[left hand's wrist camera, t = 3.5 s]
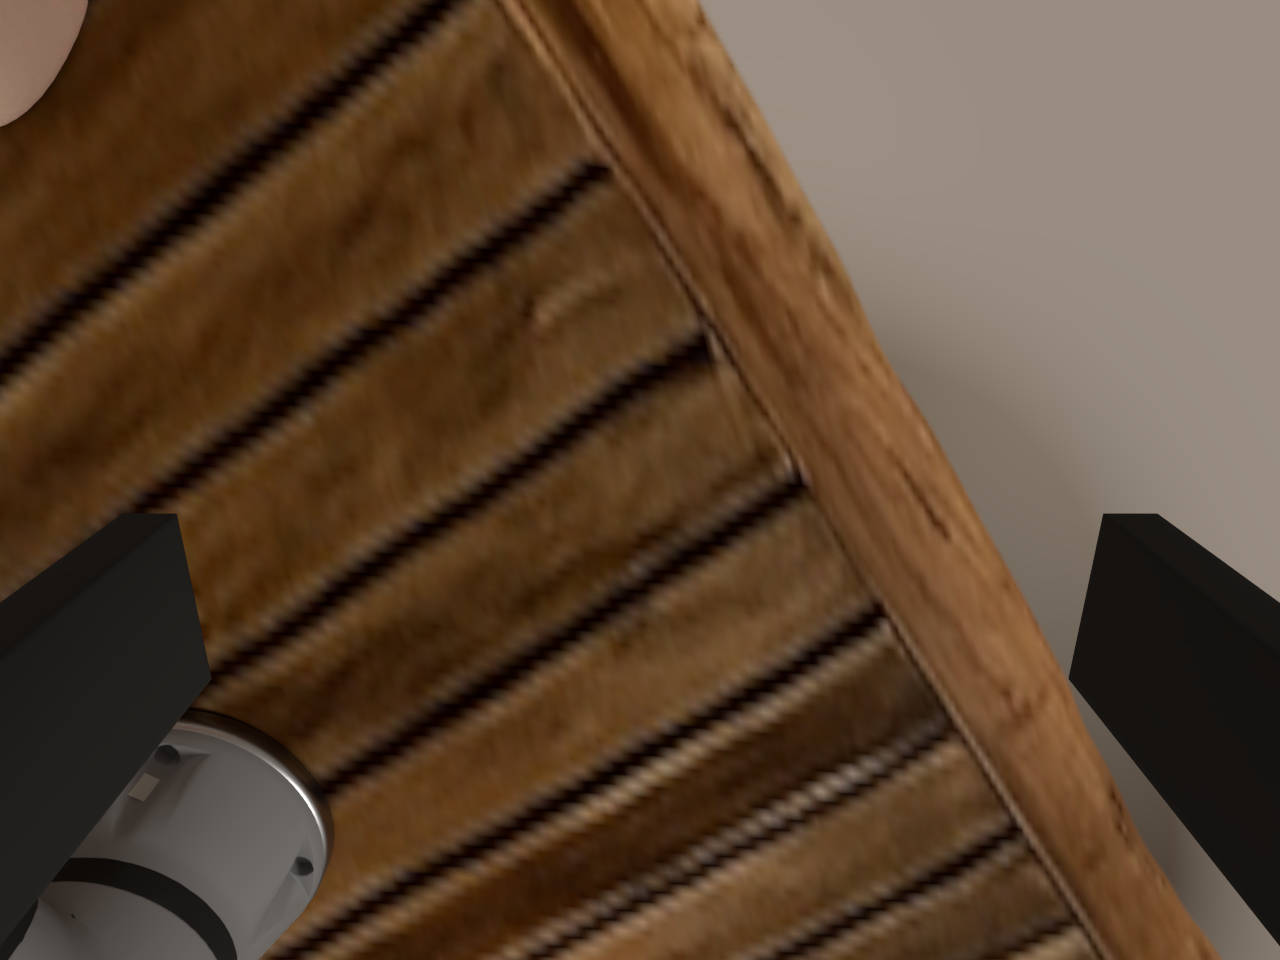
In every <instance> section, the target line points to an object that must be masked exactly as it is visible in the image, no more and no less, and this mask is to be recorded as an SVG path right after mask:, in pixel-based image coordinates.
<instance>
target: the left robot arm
mask: <svg viewBox="0 0 1280 960" xmlns="http://www.w3.org/2000/svg"><path fill="white" fill-rule="evenodd" d="M210 680H211V674H210V669H209V665H208V660H207V655H206V650H205V646H204V641H203V636H202V631H201V627H200V622H199V617H198V612H197V608H196V603H195V598H194V593H193V589H192V584H191V579H190V574H189V570H188V565H187V560H186V555H185V551H184V546H183V541H182V536H181V532H180V527H179V522H178V517H177V514H121V515H120V516H119V517H117V518H116V519H115V520H113V521H112V522H111V523H109V524H108V525H106V526H105V527H104V528H102V529H101V530H100V531H98V532H97V533H95V534H94V535H93V536H91V537H90V538H89V539H87V540H86V541H84V542H83V543H82V544H80V545H79V546H78V547H76V548H75V549H73V550H72V551H71V552H69V553H68V554H67V555H65V556H64V557H62V558H61V559H60V560H58V561H57V562H56V563H54V564H53V565H52V566H50V567H49V568H47V569H46V570H45V571H43V572H42V573H41V574H39V575H38V576H36V577H35V578H34V579H32V580H31V581H30V582H28V583H27V584H25V585H24V586H23V587H21V588H20V589H19V590H17V591H16V592H14V593H13V594H12V595H10V596H9V597H8V598H6V599H5V600H3V601H2V602H1V603H0V960H258V959H259V958H260V957H261V956H262V955H263V954H264V953H265V952H266V951H267V950H268V949H269V948H270V947H271V946H272V945H273V943H274V942H275V941H276V940H277V939H278V938H279V937H280V936H281V935H282V934H283V933H284V932H285V931H286V930H287V929H288V927H289V926H290V925H291V924H292V923H293V922H294V921H295V920H296V919H297V918H298V917H299V916H300V914H301V913H302V912H303V911H304V909H305V908H306V906H307V905H308V904H309V903H310V901H311V900H312V898H313V897H314V895H315V894H316V892H317V889H318V887H319V885H320V883H321V881H322V878H323V876H324V874H325V871H326V869H327V867H328V864H329V861H330V858H331V855H332V851H333V845H334V826H333V820H332V815H331V811H330V808H329V805H328V802H327V800H326V798H325V796H324V793H323V792H322V790H321V788H320V786H319V785H318V783H317V781H316V780H315V779H314V777H313V776H312V775H311V773H310V772H309V771H308V770H307V769H306V767H305V766H304V765H303V764H302V763H301V762H300V761H299V760H298V759H297V758H296V757H295V756H294V755H293V754H292V753H290V752H289V751H288V750H287V749H285V748H284V747H283V746H282V745H280V744H279V743H277V742H276V741H274V740H273V739H272V738H270V737H268V736H267V735H265V734H263V733H261V732H260V731H258V730H256V729H254V728H251V727H249V726H247V725H245V724H243V723H240V722H237V721H235V720H232V719H229V718H226V717H222V716H219V715H215V714H211V713H206V712H200V711H193V710H187V709H188V708H189V707H190V705H191V704H192V703H193V701H194V700H195V699H196V698H197V696H198V695H199V694H200V693H201V691H202V690H203V689H204V688H205V686H206V685H207V684H208V682H209V681H210ZM1069 680H1070V681H1071V682H1072V684H1073V685H1074V686H1075V688H1076V689H1077V690H1078V691H1079V693H1080V694H1081V695H1082V696H1083V698H1084V699H1085V700H1086V701H1087V703H1088V704H1089V705H1090V706H1091V708H1092V709H1093V710H1094V712H1095V713H1096V714H1097V715H1098V717H1099V718H1100V719H1101V720H1102V722H1103V723H1104V724H1105V726H1106V727H1107V728H1108V729H1109V731H1110V732H1111V733H1112V734H1113V736H1114V737H1115V738H1116V739H1117V741H1118V742H1119V743H1120V744H1121V746H1122V747H1123V748H1124V750H1125V751H1126V752H1127V753H1128V755H1129V756H1130V757H1131V758H1132V760H1133V761H1134V762H1135V763H1136V765H1137V766H1138V767H1139V768H1140V770H1141V771H1142V772H1143V773H1144V775H1145V776H1146V777H1147V779H1148V780H1149V781H1150V782H1151V784H1152V785H1153V786H1154V787H1155V789H1156V790H1157V791H1158V793H1159V794H1160V795H1161V796H1162V798H1163V799H1164V800H1165V801H1166V803H1167V804H1168V805H1169V806H1170V808H1171V809H1172V810H1173V812H1174V813H1175V814H1176V815H1177V817H1178V818H1179V819H1180V820H1181V822H1182V823H1183V824H1184V825H1185V827H1186V828H1187V829H1188V830H1189V832H1190V833H1191V834H1192V836H1193V837H1194V838H1195V839H1196V841H1197V842H1198V843H1199V844H1200V846H1201V847H1202V848H1203V849H1204V851H1205V852H1206V853H1207V854H1208V856H1209V857H1210V858H1211V860H1212V861H1213V862H1214V863H1215V865H1216V866H1217V867H1218V868H1219V870H1220V871H1221V872H1222V873H1223V875H1224V876H1225V877H1226V879H1227V880H1228V881H1229V882H1230V884H1231V885H1232V886H1233V887H1234V889H1235V890H1236V891H1237V892H1238V894H1239V895H1240V896H1241V897H1242V899H1243V900H1244V901H1245V903H1246V904H1247V905H1248V906H1249V908H1250V909H1251V910H1252V911H1253V913H1254V914H1255V915H1256V917H1257V918H1258V919H1259V920H1260V922H1261V923H1262V924H1263V925H1264V927H1265V928H1266V929H1267V930H1268V932H1269V933H1270V934H1271V935H1272V937H1273V938H1274V939H1275V941H1276V942H1277V943H1278V944H1279V946H1280V603H1279V602H1278V601H1276V600H1275V599H1274V598H1272V597H1271V596H1270V595H1268V594H1267V593H1266V592H1264V591H1263V590H1261V589H1260V588H1259V587H1257V586H1256V585H1255V584H1253V583H1252V582H1250V581H1249V580H1248V579H1246V578H1245V577H1243V576H1242V575H1241V574H1239V573H1238V572H1237V571H1235V570H1234V569H1233V568H1231V567H1230V566H1228V565H1227V564H1226V563H1224V562H1223V561H1222V560H1220V559H1219V558H1217V557H1216V556H1215V555H1213V554H1212V553H1211V552H1209V551H1208V550H1207V549H1205V548H1204V547H1202V546H1201V545H1200V544H1198V543H1197V542H1196V541H1194V540H1193V539H1191V538H1190V537H1189V536H1187V535H1186V534H1185V533H1183V532H1182V531H1180V530H1179V529H1178V528H1176V527H1175V526H1174V525H1172V524H1171V523H1169V522H1168V521H1167V520H1165V519H1164V518H1163V517H1161V516H1160V515H1159V514H1103V517H1102V522H1101V527H1100V532H1099V536H1098V541H1097V546H1096V551H1095V555H1094V560H1093V565H1092V570H1091V574H1090V579H1089V584H1088V589H1087V593H1086V598H1085V603H1084V608H1083V613H1082V617H1081V622H1080V627H1079V632H1078V636H1077V641H1076V646H1075V651H1074V655H1073V660H1072V665H1071V669H1070V674H1069Z"/></svg>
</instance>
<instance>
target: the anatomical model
mask: <svg viewBox="0 0 1280 960" xmlns="http://www.w3.org/2000/svg"><path fill="white" fill-rule="evenodd" d="M87 6H88V0H0V127H1V126H4V125H6V124H8V123H10V122H12V121H14V120H16V119H17V118H19V117H20V116H21V115H23V114H24V113H25V112H26V111H28V110H29V109H30V108H31V107H32V106H33V105H34V104H35V103H36V102H37V101H38V100H39V99H40V98H41V97H42V95H43V94H44V93H45V91H46V90H47V89H48V87H49V86H50V85H51V83H52V82H53V81H54V79H55V77H56V76H57V74H58V72H59V71H60V69H61V67H62V65H63V64H64V62H65V60H66V59H67V57H68V55H69V52H70V50H71V48H72V46H73V44H74V42H75V40H76V38H77V36H78V33H79V31H80V28H81V25H82V23H83V20H84V17H85V14H86V10H87Z"/></svg>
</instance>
